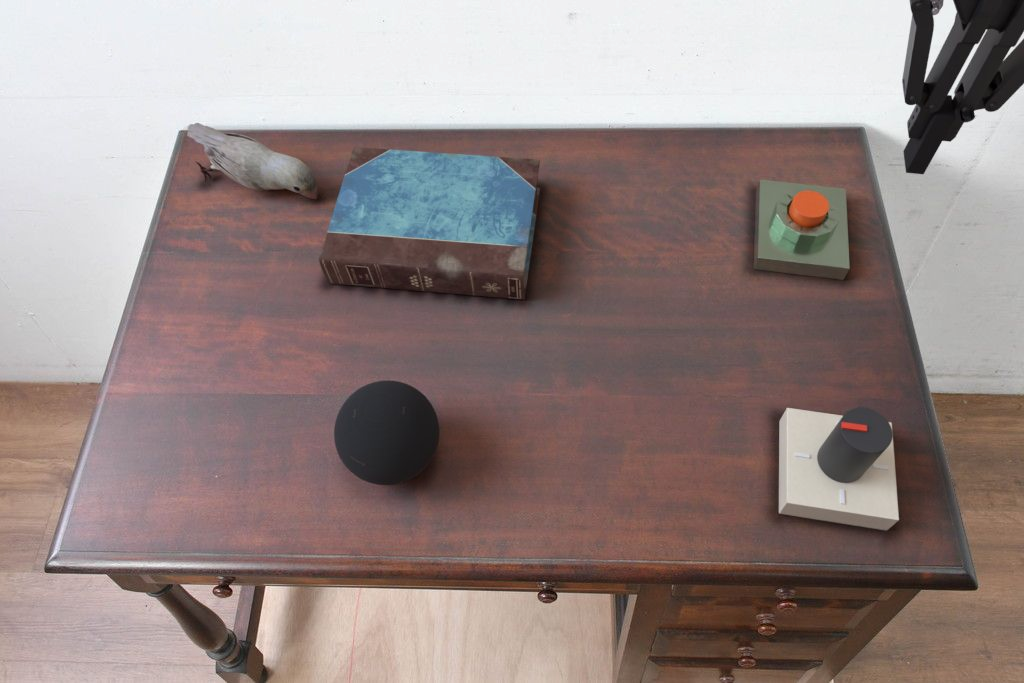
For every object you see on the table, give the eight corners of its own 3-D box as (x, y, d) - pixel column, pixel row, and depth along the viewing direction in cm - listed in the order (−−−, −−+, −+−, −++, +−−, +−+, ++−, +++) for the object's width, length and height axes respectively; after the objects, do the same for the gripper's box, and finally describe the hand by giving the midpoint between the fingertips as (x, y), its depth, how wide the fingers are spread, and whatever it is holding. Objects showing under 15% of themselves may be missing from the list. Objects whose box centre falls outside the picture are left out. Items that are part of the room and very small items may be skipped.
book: (328, 286, 92) (318, 260, 88) (361, 174, 101) (353, 145, 97) (524, 303, 90) (523, 276, 86) (540, 186, 99) (540, 157, 95)
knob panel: (887, 530, 75) (900, 519, 72) (778, 513, 76) (787, 502, 73) (880, 435, 80) (892, 421, 77) (779, 420, 81) (787, 406, 79)
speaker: (438, 402, 84) (427, 353, 75) (450, 491, 78) (438, 450, 70) (344, 417, 83) (321, 370, 75) (348, 508, 78) (325, 468, 69)
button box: (843, 280, 90) (855, 258, 87) (753, 269, 91) (761, 247, 88) (840, 200, 96) (850, 177, 93) (755, 191, 97) (763, 168, 94)
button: (825, 229, 89) (829, 219, 88) (788, 225, 90) (792, 215, 88) (824, 202, 92) (828, 192, 90) (788, 198, 92) (792, 188, 91)
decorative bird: (309, 215, 98) (292, 172, 91) (197, 184, 101) (174, 140, 95) (329, 184, 100) (314, 140, 94) (219, 155, 104) (198, 110, 97)
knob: (863, 443, 76) (892, 409, 70) (866, 486, 74) (895, 455, 68) (816, 437, 77) (840, 402, 71) (817, 479, 75) (842, 447, 68)
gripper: (957, -78, 50) (840, 185, 70) (1181, -64, 49) (996, 201, 69) (944, -139, 54) (836, 126, 74) (1150, -128, 53) (983, 140, 73)
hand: (913, 162), depth 71 cm, fingers closed
